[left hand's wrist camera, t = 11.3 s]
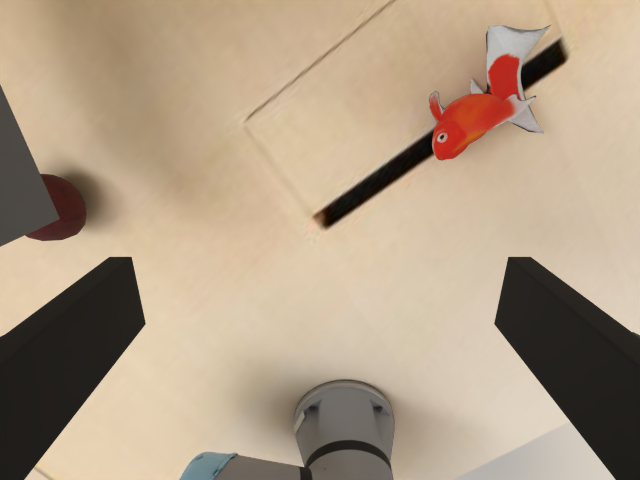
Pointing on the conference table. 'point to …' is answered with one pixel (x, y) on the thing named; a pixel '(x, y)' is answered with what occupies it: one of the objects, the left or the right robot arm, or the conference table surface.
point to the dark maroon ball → (62, 210)
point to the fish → (488, 95)
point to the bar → (19, 183)
